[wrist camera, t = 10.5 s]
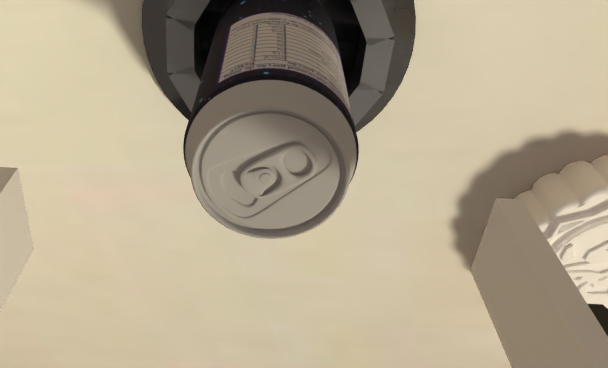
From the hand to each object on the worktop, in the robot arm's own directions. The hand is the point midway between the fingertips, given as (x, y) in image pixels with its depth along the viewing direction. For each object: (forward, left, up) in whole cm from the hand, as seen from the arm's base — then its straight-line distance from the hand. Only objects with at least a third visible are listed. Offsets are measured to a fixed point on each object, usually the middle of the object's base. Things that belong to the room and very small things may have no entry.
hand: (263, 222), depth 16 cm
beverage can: (0, 0, -14) cm, 14 cm away
